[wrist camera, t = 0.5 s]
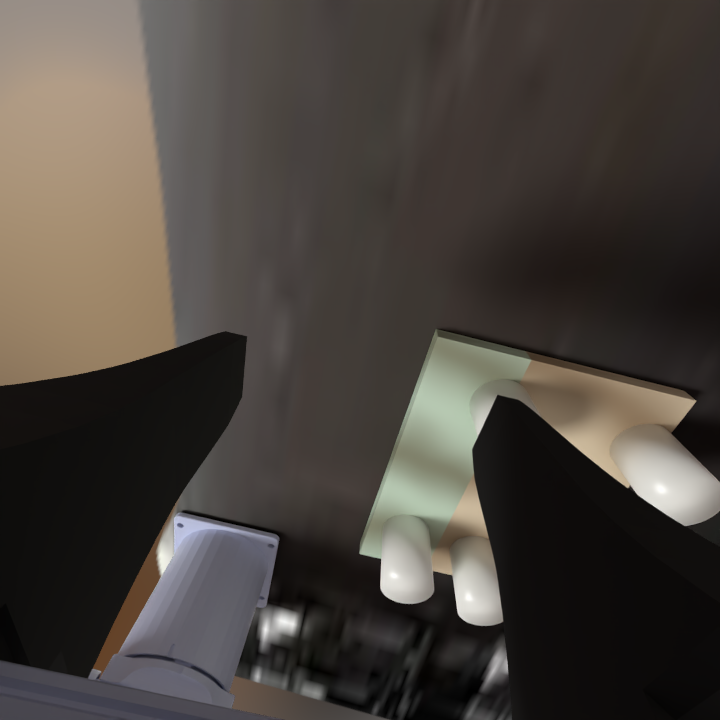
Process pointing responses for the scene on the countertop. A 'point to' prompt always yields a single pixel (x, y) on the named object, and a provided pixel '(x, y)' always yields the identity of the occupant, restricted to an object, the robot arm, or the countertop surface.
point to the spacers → (474, 554)
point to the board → (458, 435)
